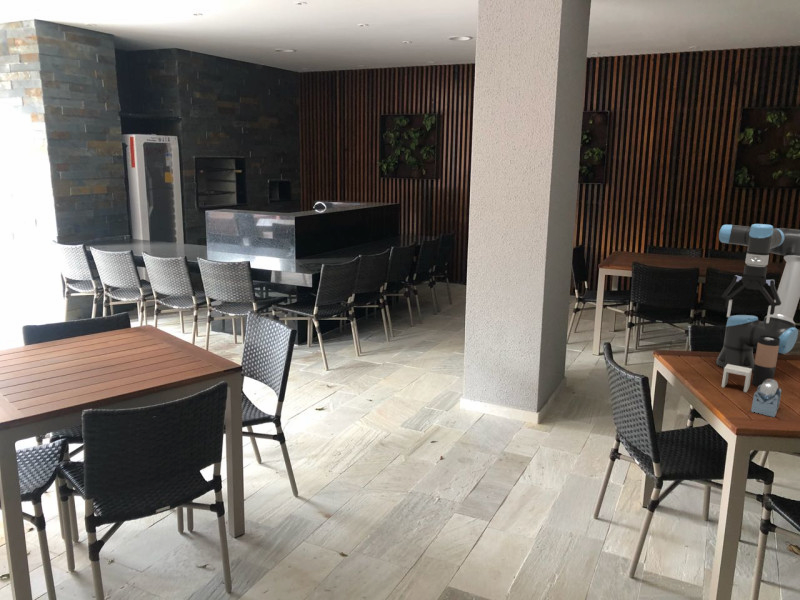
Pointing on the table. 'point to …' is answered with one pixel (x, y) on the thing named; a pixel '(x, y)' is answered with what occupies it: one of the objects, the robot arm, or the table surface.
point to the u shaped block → (737, 370)
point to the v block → (766, 403)
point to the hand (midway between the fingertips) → (747, 319)
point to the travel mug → (765, 359)
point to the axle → (768, 389)
